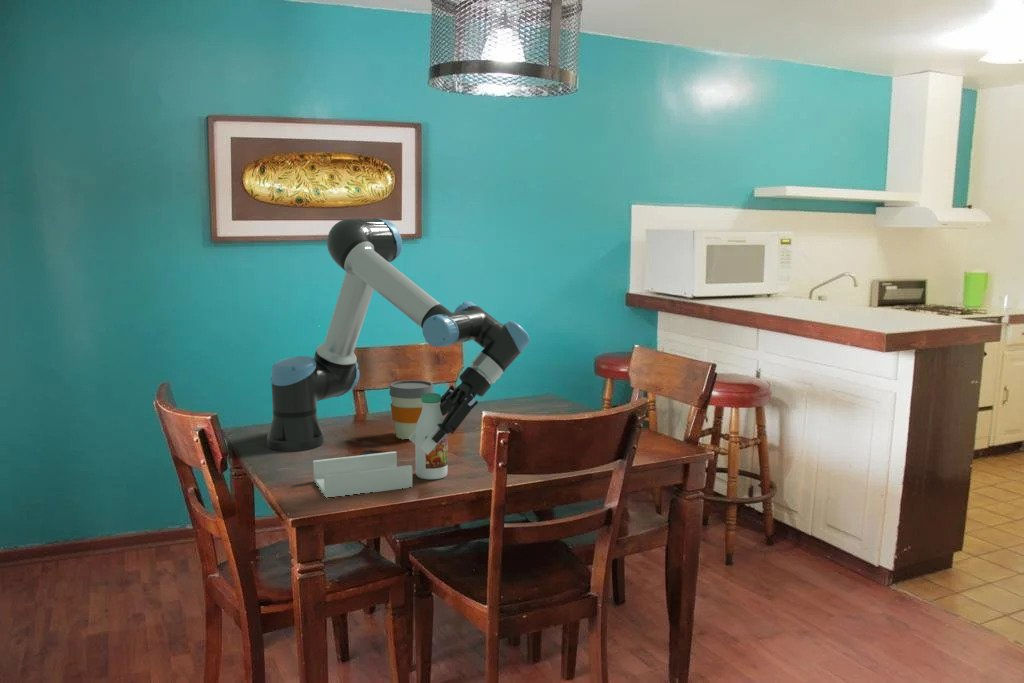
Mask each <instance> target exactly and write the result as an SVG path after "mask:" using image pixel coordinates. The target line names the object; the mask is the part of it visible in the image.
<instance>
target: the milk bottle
mask: <svg viewBox="0 0 1024 683" xmlns="http://www.w3.org/2000/svg"><path fill="white" fill-rule="evenodd" d="M441 397H442V395H441V394H440V393H435V392H434V393H427V394H423V395H422V397H421V400H422V405H423V407H422V411H421V414H420V417H419V419H418V421H417V424H416V433H415V444H414V447H415V449H414V450H415V452H414V453H415V454H414V455H415V476H416V477H417V478H419V479H423V480H439V479H442V478H445V477H446V476H448V468H449V467H448V460H449V459H448V458H449V457H448V434H446V435H445V436H444V437H443V438H442V439H441V440H440V442H439V443H438V444H437V445H436V446H435V447H434V448H433V450H432V451H431V452H430V453H429V454H428V455H427V454H426V453H425V452H424V451H423V450H422V449H420V448H419V447H420V445H421V444H422V443H423V442H424V441H425V440H426V439H427V437H428V436H429V435H430V434H431V433H432V432H433V431H434V429H435V428H436V427H437V426H438V424H442V422H443V421H444V419H445V418H444V416H443V415H442V413H441V410H440V404H441V402H440V401H441ZM438 427H439V426H438ZM439 428H440V427H439Z"/></svg>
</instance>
